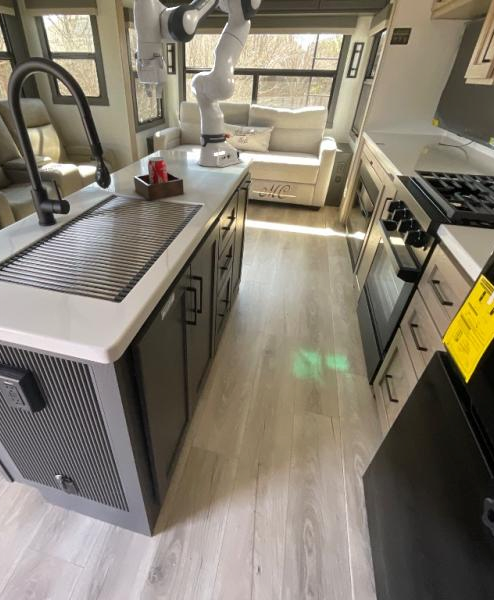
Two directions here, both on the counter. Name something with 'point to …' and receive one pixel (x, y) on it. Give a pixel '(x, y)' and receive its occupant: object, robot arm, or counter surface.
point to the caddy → (158, 187)
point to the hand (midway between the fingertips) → (154, 97)
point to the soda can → (157, 170)
